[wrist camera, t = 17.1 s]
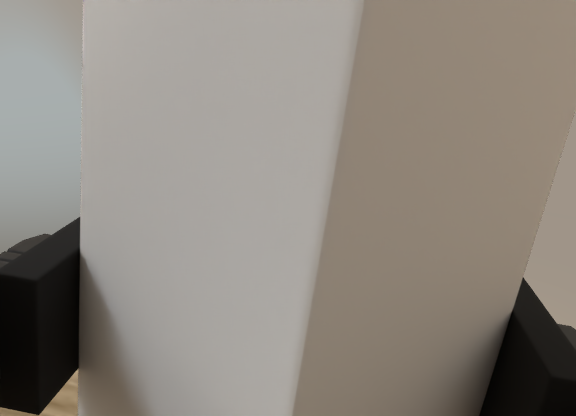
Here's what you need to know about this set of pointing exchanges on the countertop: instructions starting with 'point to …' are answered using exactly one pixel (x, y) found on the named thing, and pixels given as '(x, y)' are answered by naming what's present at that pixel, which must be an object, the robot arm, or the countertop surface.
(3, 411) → the countertop surface
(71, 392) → the countertop surface
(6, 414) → the countertop surface
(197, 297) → the milk
